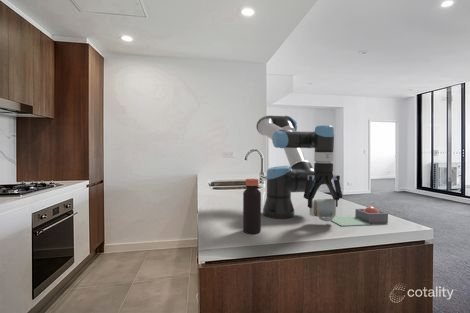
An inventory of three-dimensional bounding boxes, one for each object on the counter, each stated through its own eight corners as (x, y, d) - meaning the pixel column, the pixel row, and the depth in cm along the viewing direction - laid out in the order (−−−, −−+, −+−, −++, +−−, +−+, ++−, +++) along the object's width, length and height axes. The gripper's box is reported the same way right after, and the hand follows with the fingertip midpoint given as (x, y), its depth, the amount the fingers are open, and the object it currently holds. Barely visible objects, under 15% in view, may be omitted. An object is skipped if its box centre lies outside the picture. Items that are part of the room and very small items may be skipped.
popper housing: (368, 223, 102) (369, 214, 102) (355, 217, 111) (355, 209, 111) (387, 222, 103) (388, 213, 103) (373, 216, 112) (373, 208, 112)
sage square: (341, 226, 98) (341, 225, 98) (324, 217, 111) (324, 216, 111) (370, 225, 100) (370, 224, 100) (350, 216, 113) (350, 215, 113)
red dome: (369, 220, 104) (369, 208, 103) (359, 216, 110) (360, 205, 110) (382, 219, 105) (383, 208, 104) (372, 215, 111) (372, 204, 111)
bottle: (260, 234, 88) (260, 180, 88) (241, 233, 90) (241, 180, 89) (261, 228, 95) (261, 178, 95) (244, 227, 96) (244, 178, 96)
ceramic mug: (311, 213, 106) (311, 196, 105) (330, 214, 105) (331, 197, 104) (316, 221, 95) (317, 202, 95) (338, 222, 94) (339, 203, 94)
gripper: (303, 163, 96) (302, 218, 97) (352, 162, 99) (351, 216, 100) (295, 161, 103) (294, 213, 104) (342, 161, 107) (341, 211, 108)
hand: (322, 214), depth 102 cm, fingers closed on ceramic mug, 9 cm apart
